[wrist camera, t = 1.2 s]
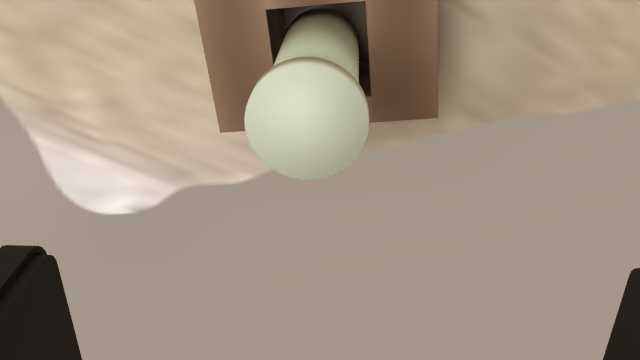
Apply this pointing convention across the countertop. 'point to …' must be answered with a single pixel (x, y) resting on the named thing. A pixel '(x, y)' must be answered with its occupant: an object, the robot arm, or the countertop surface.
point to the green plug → (310, 100)
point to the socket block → (374, 75)
